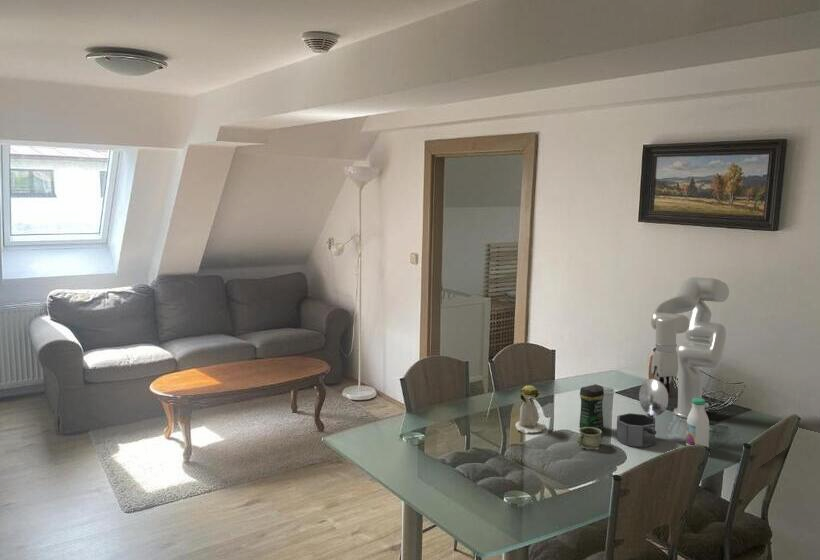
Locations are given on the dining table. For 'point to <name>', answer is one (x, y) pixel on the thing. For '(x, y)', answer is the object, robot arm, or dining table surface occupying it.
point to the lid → (653, 397)
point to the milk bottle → (697, 424)
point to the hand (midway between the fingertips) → (664, 392)
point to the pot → (636, 430)
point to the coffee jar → (591, 406)
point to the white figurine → (529, 411)
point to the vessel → (590, 437)
